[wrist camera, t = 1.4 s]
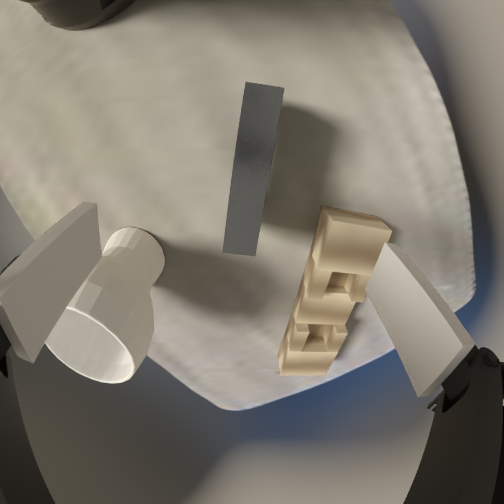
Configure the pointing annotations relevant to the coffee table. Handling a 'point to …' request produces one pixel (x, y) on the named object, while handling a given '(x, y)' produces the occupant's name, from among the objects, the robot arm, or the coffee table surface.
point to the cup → (112, 310)
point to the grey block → (252, 167)
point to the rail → (330, 289)
